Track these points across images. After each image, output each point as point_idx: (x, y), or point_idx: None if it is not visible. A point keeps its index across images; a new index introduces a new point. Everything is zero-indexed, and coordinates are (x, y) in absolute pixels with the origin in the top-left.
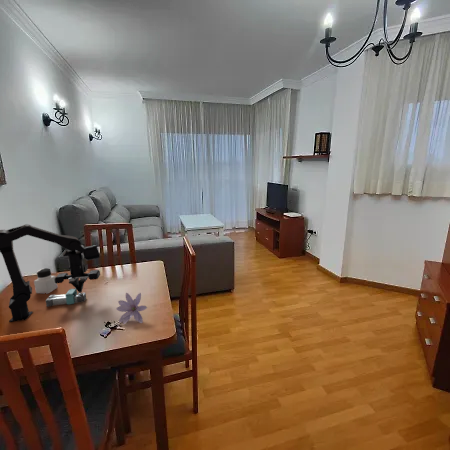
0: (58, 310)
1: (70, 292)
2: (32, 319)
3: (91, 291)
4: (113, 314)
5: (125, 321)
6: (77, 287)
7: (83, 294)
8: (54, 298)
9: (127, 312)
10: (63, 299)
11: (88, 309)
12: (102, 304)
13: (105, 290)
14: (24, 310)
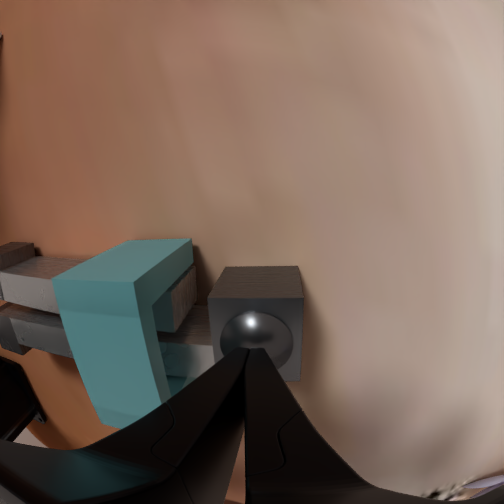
0: None
1: (125, 398)
2: (67, 426)
3: (303, 80)
4: (465, 459)
5: (478, 493)
6: (221, 488)
7: (291, 351)
8: (27, 338)
9: None
10: None
11: (354, 438)
12: (444, 390)
13: (454, 111)
14: (12, 429)
